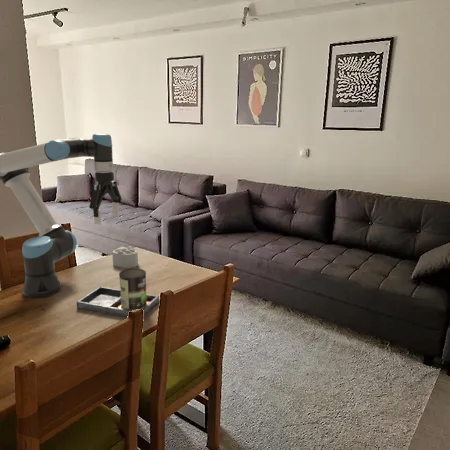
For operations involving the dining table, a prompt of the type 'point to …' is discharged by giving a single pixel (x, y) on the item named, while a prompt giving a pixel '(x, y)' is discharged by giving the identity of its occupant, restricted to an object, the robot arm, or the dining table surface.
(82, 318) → the dining table surface
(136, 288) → the coffee can
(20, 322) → the dining table surface
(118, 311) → the grey divided tray
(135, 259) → the lumpy-topped squat cylinder
